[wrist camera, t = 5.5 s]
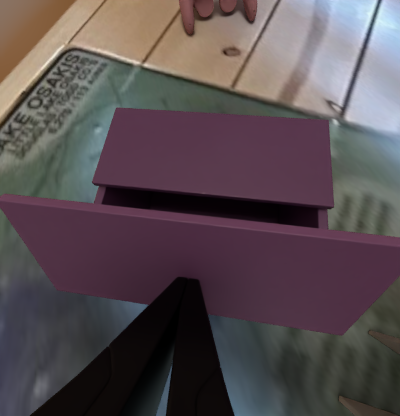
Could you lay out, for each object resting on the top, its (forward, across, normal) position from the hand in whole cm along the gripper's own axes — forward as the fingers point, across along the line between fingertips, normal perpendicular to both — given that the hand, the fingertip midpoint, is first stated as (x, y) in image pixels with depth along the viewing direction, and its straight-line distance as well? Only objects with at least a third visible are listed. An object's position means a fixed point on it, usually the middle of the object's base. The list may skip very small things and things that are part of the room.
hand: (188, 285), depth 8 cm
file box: (+11, 0, +5) cm, 12 cm away
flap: (0, 0, -1) cm, 1 cm away
